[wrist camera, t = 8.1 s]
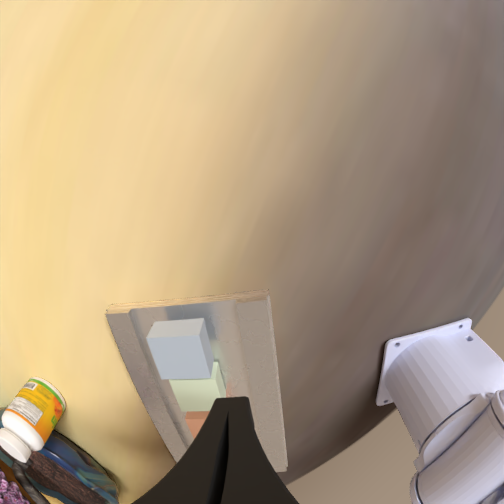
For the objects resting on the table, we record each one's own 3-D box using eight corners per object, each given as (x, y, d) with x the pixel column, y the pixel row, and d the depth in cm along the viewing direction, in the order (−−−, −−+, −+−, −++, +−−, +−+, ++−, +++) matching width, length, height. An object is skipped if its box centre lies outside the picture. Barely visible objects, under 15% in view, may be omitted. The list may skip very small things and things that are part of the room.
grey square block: (203, 317, 18) (199, 335, 17) (214, 359, 19) (210, 378, 18) (155, 321, 19) (146, 337, 17) (168, 361, 20) (161, 379, 18)
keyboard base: (268, 288, 20) (269, 299, 19) (287, 460, 27) (288, 470, 25) (111, 304, 21) (103, 314, 19) (184, 463, 27) (182, 473, 26)
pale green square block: (218, 361, 21) (215, 379, 19) (226, 392, 22) (224, 410, 20) (174, 363, 21) (168, 380, 19) (185, 394, 22) (181, 411, 20)
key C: (228, 401, 22) (226, 418, 20) (235, 425, 23) (234, 441, 21) (188, 402, 22) (184, 419, 20) (198, 426, 23) (195, 442, 21)
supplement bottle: (63, 416, 26) (31, 472, 16) (28, 390, 25) (-9, 441, 15) (70, 396, 24) (33, 459, 15) (32, 367, 23) (-13, 423, 14)
